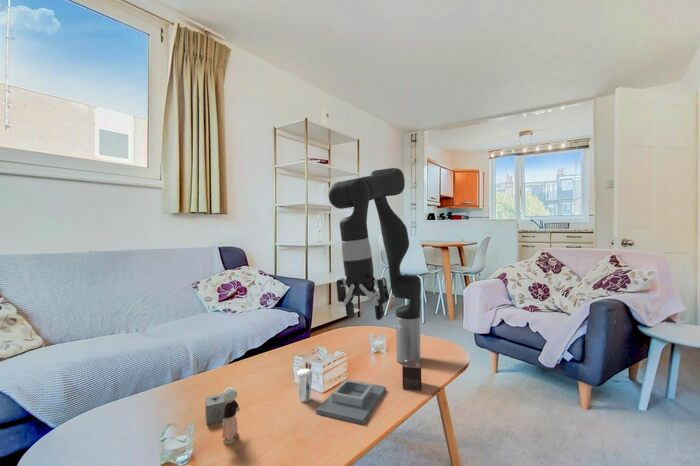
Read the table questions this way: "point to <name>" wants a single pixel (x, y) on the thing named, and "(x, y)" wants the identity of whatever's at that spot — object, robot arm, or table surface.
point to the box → (411, 375)
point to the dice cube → (214, 408)
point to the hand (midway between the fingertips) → (365, 318)
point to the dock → (352, 401)
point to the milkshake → (304, 384)
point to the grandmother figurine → (230, 416)
